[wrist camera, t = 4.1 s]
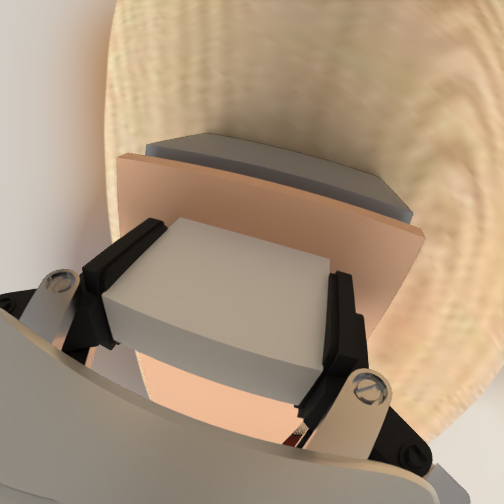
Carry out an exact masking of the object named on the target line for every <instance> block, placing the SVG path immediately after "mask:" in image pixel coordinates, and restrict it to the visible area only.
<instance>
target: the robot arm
mask: <svg viewBox="0 0 504 504" xmlns="http://www.w3.org/2000/svg"><path fill="white" fill-rule="evenodd" d="M167 230H168V227H167V226H166V225H165V224H164V222H163V221H161V220H158V219H154V218H148V219H146V220H145V221H144V222H142V223H141V224H139V225H138V226H136V227H135V228H134V229H132V230H131V231H129V232H128V233H127V234H125V235H124V236H123V237H121V238H120V239H119V240H117V241H116V242H115V243H113V244H112V245H111V246H109V247H108V248H107V249H105V250H104V251H103V252H101V253H100V254H99V255H97V256H96V257H95V258H94V259H92V260H91V261H90V262H89V263H87V264H86V265H85V266H83V267H82V271H83V272H82V273H81V274H80V275H78V274H77V273H76V272H75V271H73V270H69V269H60V270H56V271H53V272H51V273H49V274H48V275H47V276H46V277H45V278H44V279H43V281H42V282H41V284H40V285H39V287H38V288H37V289H31V290H25V291H18V292H11V293H5V294H1V295H0V504H470V497H469V494H468V493H467V491H466V490H465V489H464V488H462V487H461V486H460V485H459V484H458V483H457V482H456V481H455V480H454V479H453V478H452V477H451V476H450V475H449V474H448V473H447V472H446V471H445V470H444V469H443V468H442V467H441V466H440V465H439V464H438V463H437V464H435V465H433V464H432V452H431V450H430V447H429V446H428V445H427V443H426V442H425V441H424V440H423V439H422V438H421V437H420V436H419V435H418V434H417V433H416V432H415V431H414V430H413V429H412V428H411V427H410V426H409V425H408V424H407V423H406V422H405V421H404V420H403V419H402V418H401V417H400V416H399V415H398V414H397V413H396V412H395V411H394V410H393V409H392V408H391V407H390V402H391V399H392V389H391V386H390V384H389V382H388V380H387V379H386V378H385V377H384V376H383V375H381V374H380V373H379V372H377V371H374V370H372V369H369V364H368V351H367V340H366V330H365V321H364V316H363V315H362V314H359V313H356V307H355V297H354V288H353V280H352V275H351V274H348V273H344V272H341V271H338V270H337V271H336V272H335V274H333V273H330V274H329V278H328V297H327V313H326V327H325V339H324V349H323V359H322V366H323V371H322V373H321V374H320V376H319V377H318V379H317V380H316V381H315V383H314V384H313V386H312V387H311V389H310V390H309V391H308V393H307V394H306V395H305V397H304V398H303V400H302V401H301V402H300V404H299V405H294V408H298V415H297V417H298V418H302V419H303V422H304V423H305V424H306V426H307V427H308V428H307V430H306V431H305V433H304V434H303V436H302V437H301V438H300V440H299V441H298V443H297V444H296V445H295V447H291V446H287V445H282V444H278V443H273V442H269V441H265V440H261V439H257V438H253V437H250V436H246V435H243V434H239V433H236V432H233V431H229V430H226V429H223V428H220V427H217V426H214V425H211V424H208V423H205V422H203V421H200V420H197V419H194V418H192V417H189V416H186V415H184V414H181V413H179V412H176V411H174V410H171V409H169V408H167V407H164V406H162V405H160V404H157V403H155V402H153V401H151V400H149V399H146V398H144V397H142V396H140V395H138V394H136V393H134V392H132V391H129V390H128V389H126V388H124V387H122V386H120V385H118V384H116V383H114V382H112V381H110V380H109V379H107V378H105V377H103V376H101V375H100V374H98V373H96V372H94V371H93V370H91V365H92V362H93V357H94V354H95V351H96V346H98V345H99V344H100V345H102V346H104V347H106V348H107V349H109V350H112V349H113V347H114V346H115V345H116V344H117V345H119V344H121V343H119V342H117V341H115V340H114V339H113V336H112V332H111V329H110V325H109V322H108V318H107V315H106V311H105V307H104V303H103V299H102V294H103V293H104V292H106V291H107V290H108V289H109V288H110V287H111V286H112V285H113V284H114V283H115V282H116V281H117V280H118V279H119V278H120V277H121V276H122V275H123V274H124V272H125V271H126V270H127V269H128V268H129V267H130V266H131V265H132V264H133V263H134V262H135V261H136V260H137V259H138V258H139V257H140V256H141V255H142V254H143V253H144V252H145V251H146V250H147V249H148V248H149V247H150V246H151V245H152V244H153V243H154V242H155V241H156V240H157V239H159V238H160V237H161V236H162V235H163V234H164V233H165V232H166V231H167Z"/></svg>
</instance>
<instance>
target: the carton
mask: <svg viewBox="0 0 504 504" xmlns="http://www.w3.org/2000/svg"><path fill="white" fill-rule="evenodd" d="M145 156H151V157H157V158H163V159H169V160H174V161H180V162H185V163H190V164H195V165H200V166H205V167H210V168H214V169H219V170H224V171H228V172H232V173H237V174H241V175H245V176H250V177H254V178H258V179H262V180H266V181H270V182H274V183H278V184H281V185H285V186H289V187H293V188H296V189H300V190H304V191H307V192H311V193H314V194H318V195H321V196H324V197H328V198H331V199H334V200H338V201H341V202H344V203H347V204H351V205H354V206H357V207H360V208H363V209H366V210H369V211H372V212H375V213H378V214H381V215H384V216H387V217H390V218H393V219H395V220H398V221H401V222H404V223H407V224H410V221H411V219H412V216H413V212H412V211H411V210H410V209H409V207H408V206H407V205H406V204H405V203H404V202H403V201H402V200H401V199H400V198H399V197H398V195H397V194H396V193H395V192H394V191H393V190H392V189H391V188H390V187H389V186H388V185H387V184H386V183H385V182H384V181H383V180H382V179H381V178H380V177H377V176H374V175H371V174H368V173H365V172H362V171H359V170H356V169H353V168H350V167H347V166H344V165H341V164H337V163H334V162H331V161H327V160H324V159H320V158H317V157H313V156H310V155H306V154H302V153H298V152H294V151H291V150H287V149H282V148H278V147H274V146H270V145H265V144H261V143H256V142H252V141H247V140H242V139H237V138H232V137H226V136H221V135H215V134H209V133H203V134H197V135H191V136H186V137H180V138H175V139H170V140H165V141H160V142H155V143H151V144H146V153H145Z"/></svg>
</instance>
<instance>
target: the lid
mask: <svg viewBox="0 0 504 504" xmlns="http://www.w3.org/2000/svg"><path fill="white" fill-rule="evenodd" d="M117 196H118V214H119V228H120V238H121V237H123V236H124V235H125V234H127V233H128V232H129V231H131V230H132V229H134V228H135V227H136V226H138V225H139V224H141V223H142V222H144V221H145V220H146V219H148V218H154V219H158V220H161V221H163V222H164V224H165V225H166V226H167V227H168V230H167V231H166V232H165V233H164V234H163V235H162V236H161V237H160V238H159V239H157V240H156V241H155V242H154V243H153V244H152V245H151V246H150V247H149V248H148V249H147V250H146V251H145V252H144V253H143V254H142V255H141V256H140V257H139V258H138V259H137V260H136V261H135V262H134V263H133V264H132V265H131V266H130V267H129V268H128V269H127V270H126V271H125V272H124V274H123V275H122V276H121V277H120V278H119V279H118V280H117V281H116V282H115V283H114V284H113V285H112V286H111V287H110V288H109V289H108V290H107V291H106V292H104V293H103V294H102V299H103V303H104V307H105V311H106V315H107V318H108V322H109V325H110V329H111V332H112V336H113V339H114V340H115V341H117V342H119V343H121V344H123V345H125V346H127V347H130V348H132V349H134V350H136V351H138V352H139V355H140V359H141V363H142V367H143V371H144V375H145V378H146V382H147V386H148V389H149V393H150V396H151V400H152V401H153V402H155V403H157V404H160V405H162V406H164V407H167V408H169V409H171V410H174V411H176V412H179V413H181V414H184V415H186V416H189V417H192V418H194V419H197V420H200V421H203V422H205V423H208V424H211V425H214V426H217V427H220V428H223V429H226V430H229V431H233V432H236V433H239V434H243V435H246V436H250V437H253V438H257V439H261V440H265V441H269V442H273V443H278V444H282V443H283V442H284V441H285V440H286V439H287V438H288V437H289V436H290V435H291V434H292V433H293V432H294V431H295V430H296V429H297V428H298V426H299V425H300V424H301V423H302V422H303V419H302V418H298V417H297V415H298V408H294V405H299V404H300V402H301V401H302V400H303V398H304V397H305V395H306V394H307V393H308V391H309V390H310V389H311V387H312V386H313V384H314V383H315V381H316V380H317V379H318V377H319V376H320V374H321V373H322V371H323V366H322V359H323V349H324V339H325V327H326V313H327V297H328V278H329V274H330V273H333V274H335V272H336V271H337V270H338V271H341V272H344V273H348V274H351V275H352V280H353V288H354V297H355V307H356V313H359V314H362V315H363V316H364V321H365V330H366V340H368V338H369V337H370V335H371V334H372V332H373V331H374V329H375V328H376V326H377V325H378V323H379V321H380V320H381V318H382V317H383V315H384V314H385V312H386V310H387V309H388V307H389V305H390V304H391V302H392V300H393V299H394V297H395V295H396V294H397V292H398V290H399V288H400V287H401V285H402V283H403V281H404V280H405V278H406V276H407V274H408V272H409V271H410V269H411V267H412V265H413V263H414V261H415V259H416V257H417V255H418V253H419V251H420V249H421V247H422V245H423V243H424V241H425V239H426V238H425V236H424V234H423V232H422V231H421V229H420V228H417V227H415V226H412V225H409V224H407V223H404V222H401V221H398V220H395V219H393V218H390V217H387V216H384V215H381V214H378V213H375V212H372V211H369V210H366V209H363V208H360V207H357V206H354V205H351V204H347V203H344V202H341V201H338V200H334V199H331V198H328V197H324V196H321V195H318V194H314V193H311V192H307V191H304V190H300V189H296V188H293V187H289V186H285V185H281V184H278V183H274V182H270V181H266V180H262V179H258V178H254V177H250V176H245V175H241V174H237V173H232V172H228V171H224V170H219V169H214V168H210V167H205V166H200V165H195V164H190V163H185V162H180V161H174V160H169V159H163V158H157V157H151V156H145V155H139V154H133V153H126V154H124V155H121V156H119V157H117Z"/></svg>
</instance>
